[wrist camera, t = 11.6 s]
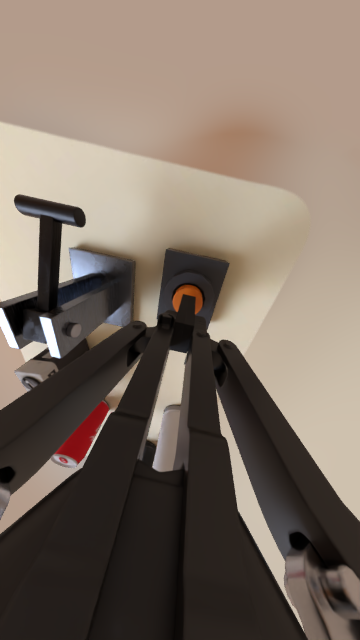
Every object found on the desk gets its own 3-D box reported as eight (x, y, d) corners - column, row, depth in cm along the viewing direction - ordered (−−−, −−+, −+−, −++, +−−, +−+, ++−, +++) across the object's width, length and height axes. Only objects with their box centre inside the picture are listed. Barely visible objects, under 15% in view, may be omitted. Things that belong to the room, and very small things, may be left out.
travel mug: (191, 406, 36) (184, 563, 19) (186, 421, 40) (176, 567, 22) (165, 401, 36) (135, 552, 19) (162, 416, 40) (134, 557, 22)
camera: (114, 386, 36) (87, 434, 27) (81, 381, 36) (44, 427, 28) (103, 338, 29) (63, 380, 20) (63, 333, 30) (7, 373, 21)
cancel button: (177, 281, 19) (175, 285, 17) (205, 287, 19) (206, 292, 17) (172, 307, 21) (170, 313, 19) (198, 313, 21) (198, 319, 19)
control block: (169, 248, 20) (162, 250, 17) (226, 261, 20) (232, 265, 17) (159, 313, 25) (153, 325, 22) (206, 323, 25) (207, 337, 22)
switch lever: (37, 203, 14) (6, 185, 11) (90, 215, 14) (70, 200, 11) (33, 328, 16) (7, 335, 14) (79, 339, 16) (60, 347, 14)
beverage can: (91, 409, 42) (55, 466, 31) (84, 394, 39) (42, 452, 28) (112, 411, 41) (83, 471, 31) (107, 397, 38) (73, 457, 28)
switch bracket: (74, 247, 22) (-58, 256, 11) (135, 260, 22) (68, 284, 10) (83, 314, 27) (2, 367, 16) (132, 325, 27) (85, 386, 16)
